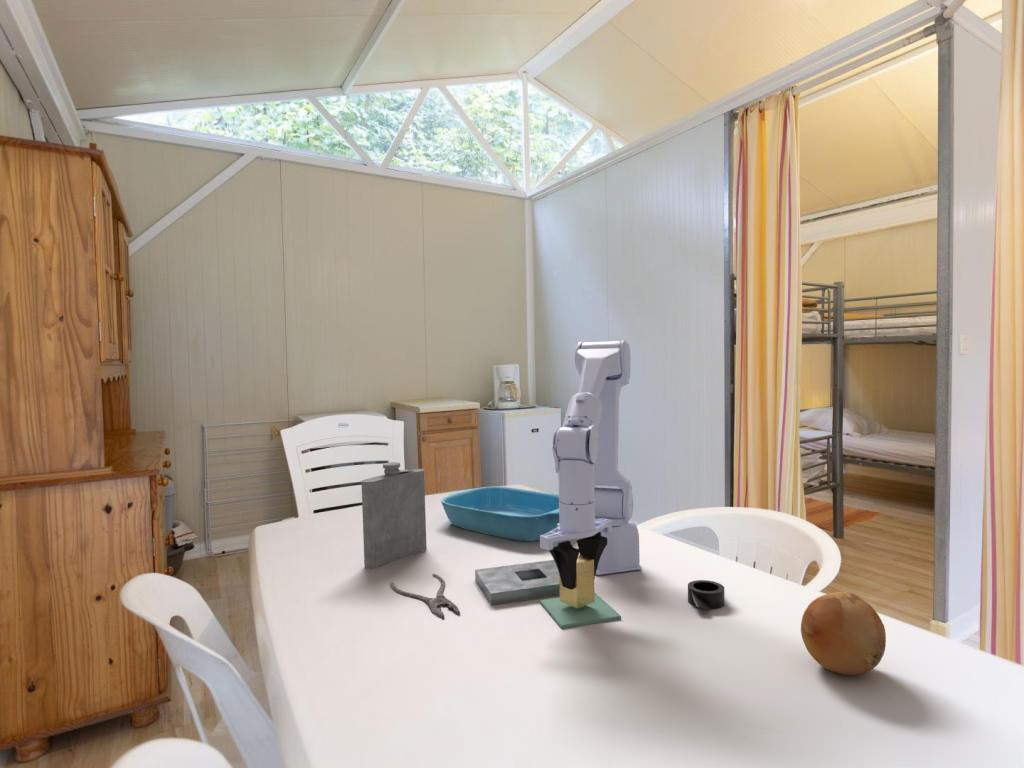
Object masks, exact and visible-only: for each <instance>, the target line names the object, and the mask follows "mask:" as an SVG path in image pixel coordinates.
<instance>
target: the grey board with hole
mask: <svg viewBox="0 0 1024 768" xmlns="http://www.w3.org/2000/svg"><path fill="white" fill-rule="evenodd" d="M474 578H475V579H474V580H475V583H476V584H477V585H478V587H479V588H480V590H481V592H482V593H483V595H484V597H485V598H486V600H487V601H488V603H489V605H490V606H495V605H502V604H503V605H504V604H508V603H516V602H522V601H523V602H524V601H530V600H537V599H543V598H544V599H545V598H551V597H552V598H553V597H556V596H557V597H558V596H560V585H559V571H558V568H557V565H556V563H555V561H554V559H549V560H541V561H533V562H526V563H517V564H511V565H503V566H495V567H486V568H479V569H478V568H477V569H474Z"/></svg>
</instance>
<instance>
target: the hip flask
mask: <svg viewBox="0 0 1024 768" xmlns="http://www.w3.org/2000/svg"><path fill="white" fill-rule="evenodd" d="M399 468H401V463H400V462H397V461H396V462H392V461H391V462H385V463H383V464H382V469H384V471H383V472H384V474H382V475H378V476H374V477H373V476H372V477H369V478H366V479H362V480H361V506H362V508H361V509H362V510H361V511H362V532H363V533H362V535H363V558H364V559H363V560H364V561H363V562H364V564H363V565H364V569H367V570H368V569H369V570H373V569H377V568H378V569H379V567H382V566H384V565H386V564H389V563H391V562H394V561H396V560H399V559H402V558H404V557H407V556H410V555H413V554H418V553H421V552H424V551H427V521H426V519H427V518H426V495H425V494H426V491H425V490H426V488H425V485H426V484H425V469H423V468H413V469H412V468H411V469H408V468H407V469H399Z"/></svg>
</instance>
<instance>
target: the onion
mask: <svg viewBox="0 0 1024 768" xmlns="http://www.w3.org/2000/svg"><path fill="white" fill-rule="evenodd" d="M800 633H801V639H802V642H803V643H804V646H805V648H806V650H807V653H809V655H810V656H811V657H812V658H813V659H814V660H815V661H816V663H818V664H819V665H820V667H823V668H824V669H826V670H828V671H829V672H833V673H834V674H837V675H838V674H839V675H843V676H851V675H852V676H853V675H855V676H856V675H863V674H866V673H869V672H870V671H871V670H874V669H875V668H876V667H877V666H878V665H879V664H880V662H882V659H883V656H884V654H885V651H886V642H887V636H886V635H887V634H886V629H885V624H884V622H883V621H882V619H881V617H880V616H879V614H878V612H877V611H876V609H874V607H873V606H872V605H871V604H869V602H867V601H866V600H864V599H863V598H861V597H860V596H859V595H857V594H855V593H852V592H848V591H837V592H836V591H835V592H830V593H829V592H828V593H825V594H823V595H821V596H819V597H817V598H814V599H813V600H812V601H811V602H810V603H809V604H808V606H806V609H805V610H804V612H803V614H802V618H801V623H800Z"/></svg>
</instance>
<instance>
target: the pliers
mask: <svg viewBox="0 0 1024 768" xmlns="http://www.w3.org/2000/svg"><path fill="white" fill-rule="evenodd" d="M432 577H434V578H436V579H437V580H438V581H439V582H440V587H439V588H438V590H437V592H436V597H427V596H423V595H422V594H421V595H420V594H416V593H412V592H407V591H404V590H401V589H399V588H398V587H397V586H396V585H395V583H394V581H391V582H390V587H391V589H392V590H393V591H394V592H395V593H396V594H399V595H402V596H405V597H408V598H411V599H415V600H419V601H421V602H423V603H425V604H426V605H427V606H428V608H429V609H430V612H431V614H432V615H435V616H437V617H439V618H440V619H442V620H445V614H444V612H443V611H442V608H441V607H443V608H445V607H447V610H449V611H452V612H453V613H454V614H456V615H458V616H461V611H460V610H459V609H460V608H458V606H457V604H454V602H452V601H451V600H450V599H448V598H447V597H446V596H445V595H444V591H445V589H446V582H445V580H444V578H442V577H441V576H440V575H438V574H436V573H432Z"/></svg>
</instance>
